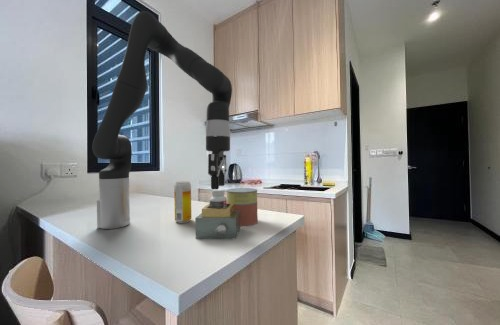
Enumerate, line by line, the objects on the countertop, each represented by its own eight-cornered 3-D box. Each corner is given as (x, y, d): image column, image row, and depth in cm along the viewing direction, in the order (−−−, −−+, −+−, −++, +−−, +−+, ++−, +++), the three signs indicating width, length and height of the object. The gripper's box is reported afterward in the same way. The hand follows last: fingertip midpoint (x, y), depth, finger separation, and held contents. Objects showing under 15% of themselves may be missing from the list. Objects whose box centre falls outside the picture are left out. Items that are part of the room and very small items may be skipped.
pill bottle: (227, 222, 66) (227, 190, 66) (209, 223, 64) (209, 191, 65) (226, 218, 71) (225, 189, 71) (209, 219, 70) (209, 189, 70)
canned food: (262, 220, 82) (262, 188, 82) (249, 228, 71) (248, 192, 71) (236, 217, 87) (236, 187, 86) (221, 224, 76) (220, 191, 76)
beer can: (193, 219, 85) (193, 181, 84) (187, 223, 78) (187, 182, 78) (179, 218, 85) (178, 181, 85) (172, 223, 79) (171, 182, 79)
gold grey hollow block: (193, 240, 61) (192, 211, 61) (205, 227, 73) (204, 202, 73) (234, 241, 60) (234, 211, 60) (240, 228, 72) (239, 202, 72)
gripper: (212, 138, 75) (212, 184, 75) (199, 133, 60) (199, 190, 61) (233, 138, 74) (233, 184, 74) (225, 132, 60) (225, 190, 60)
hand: (218, 187), depth 67 cm, fingers open, 8 cm apart
